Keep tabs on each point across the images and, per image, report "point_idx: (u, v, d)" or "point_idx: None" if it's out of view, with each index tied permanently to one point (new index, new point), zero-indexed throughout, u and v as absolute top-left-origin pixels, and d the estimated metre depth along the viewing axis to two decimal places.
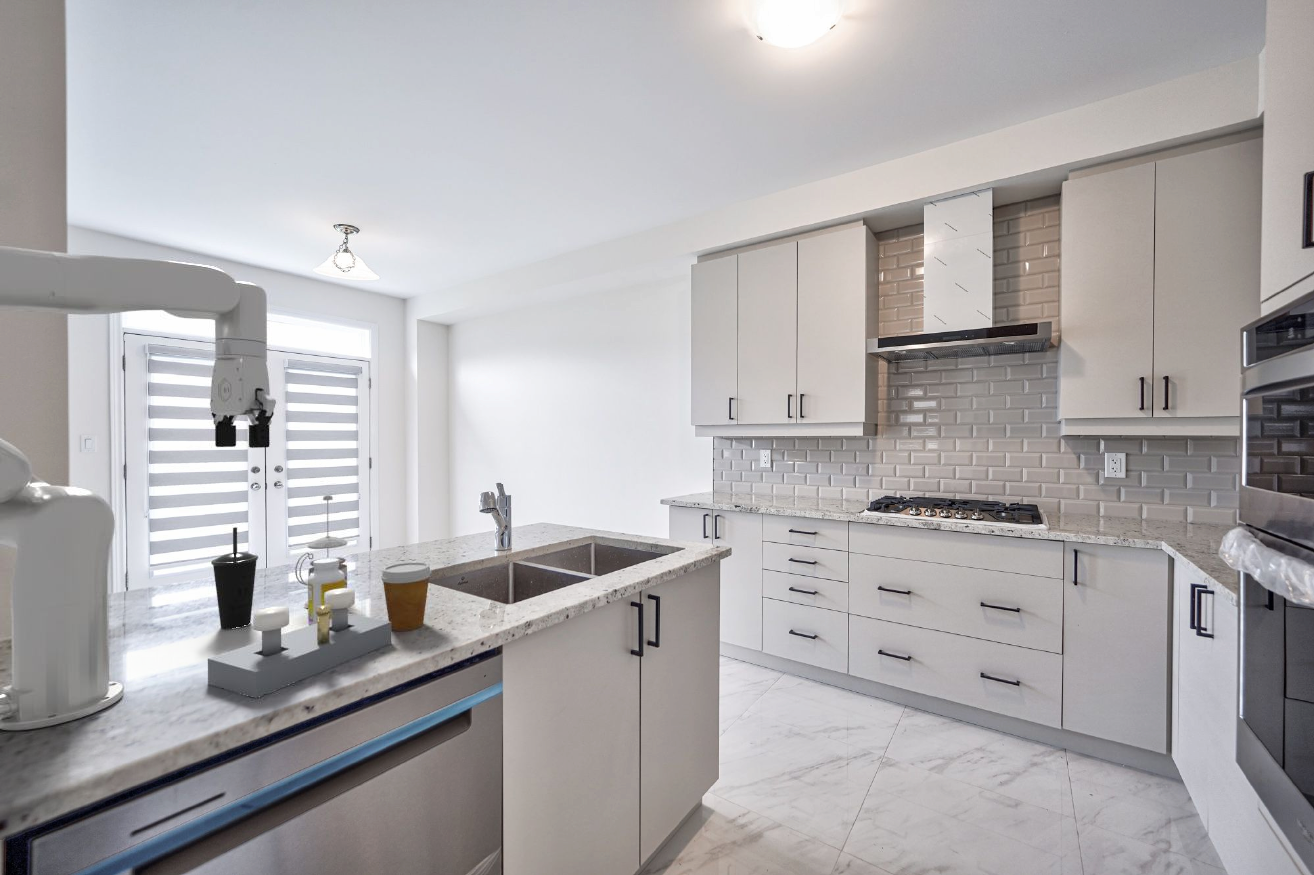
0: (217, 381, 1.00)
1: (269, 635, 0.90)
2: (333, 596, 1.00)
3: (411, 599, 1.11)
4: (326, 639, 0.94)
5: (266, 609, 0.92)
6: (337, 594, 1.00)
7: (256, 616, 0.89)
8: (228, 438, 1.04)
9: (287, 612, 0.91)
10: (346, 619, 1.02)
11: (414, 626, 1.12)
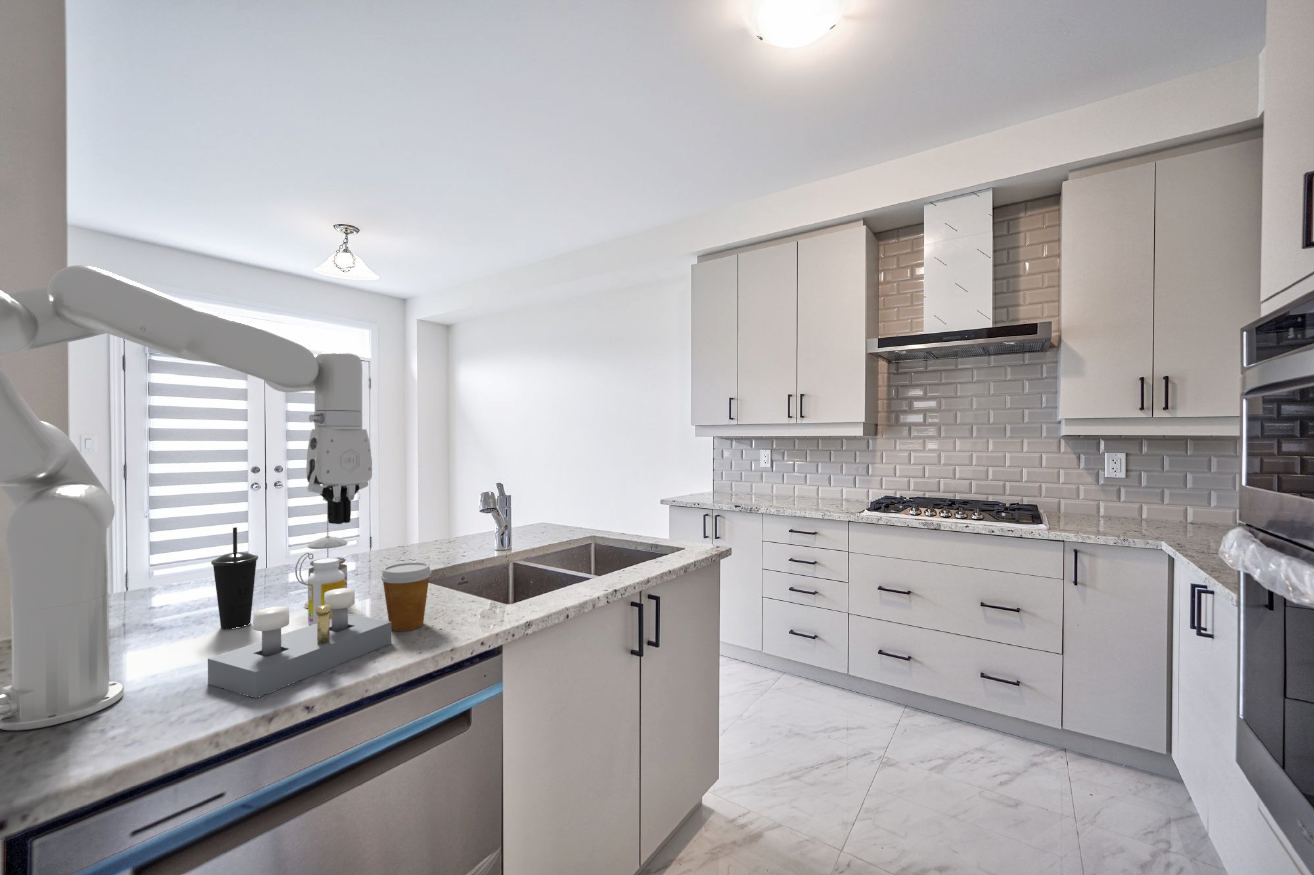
0: (338, 451, 0.98)
1: (269, 635, 0.90)
2: (333, 596, 1.00)
3: (411, 599, 1.11)
4: (326, 639, 0.94)
5: (266, 609, 0.92)
6: (337, 594, 1.00)
7: (256, 616, 0.89)
8: None
9: (287, 612, 0.91)
10: (346, 619, 1.02)
11: (414, 626, 1.12)
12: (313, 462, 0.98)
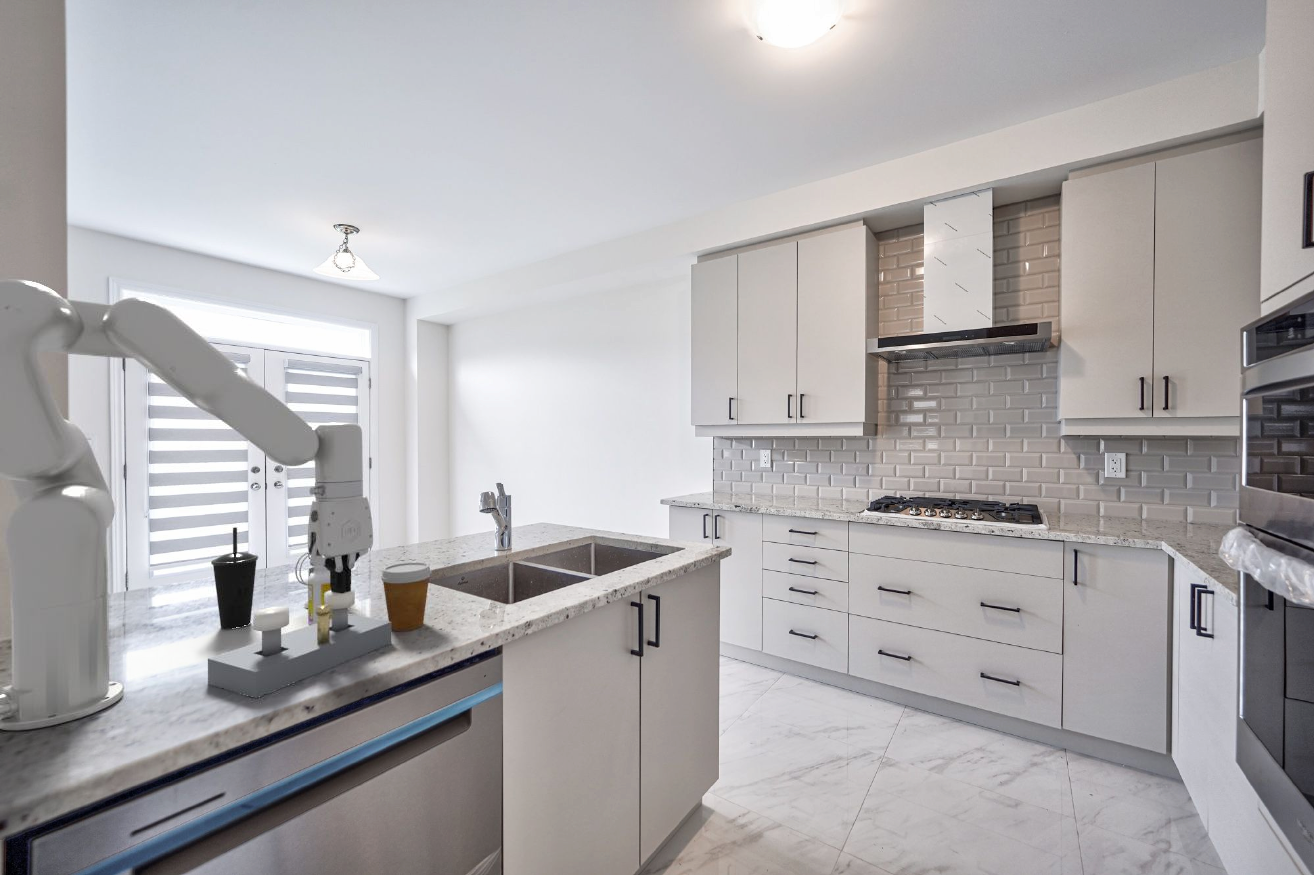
0: (339, 523, 0.99)
1: (269, 635, 0.90)
2: (333, 596, 1.00)
3: (411, 599, 1.11)
4: (326, 639, 0.94)
5: (266, 609, 0.92)
6: (337, 594, 1.00)
7: (256, 616, 0.89)
8: None
9: (287, 612, 0.91)
10: (346, 619, 1.02)
11: (414, 626, 1.12)
12: (314, 534, 0.98)
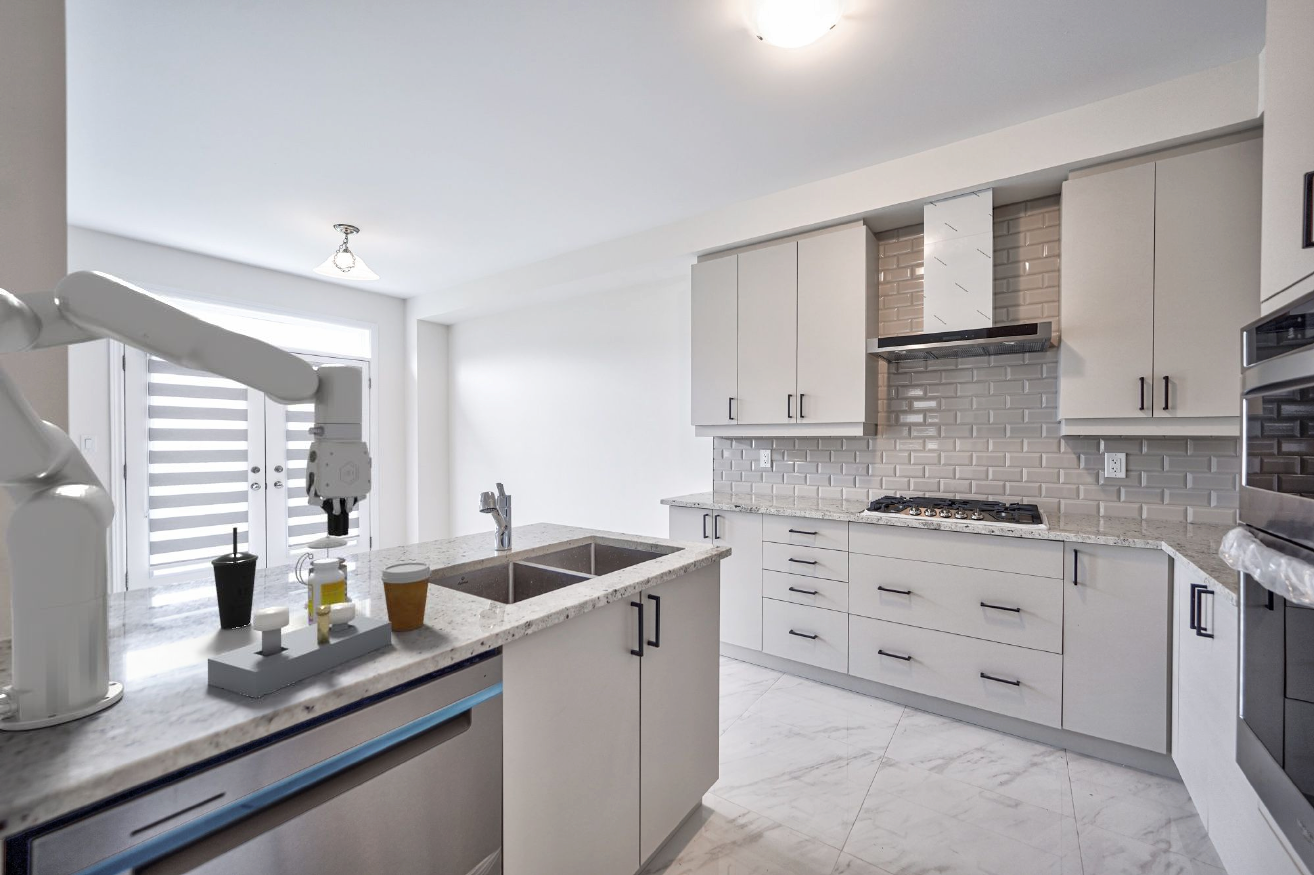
0: (337, 464, 0.98)
1: (269, 635, 0.90)
2: (333, 611, 1.00)
3: (411, 599, 1.11)
4: (326, 638, 0.94)
5: (266, 609, 0.92)
6: (337, 609, 1.00)
7: (256, 616, 0.89)
8: None
9: (287, 612, 0.91)
10: None
11: (414, 626, 1.12)
12: (312, 475, 0.98)
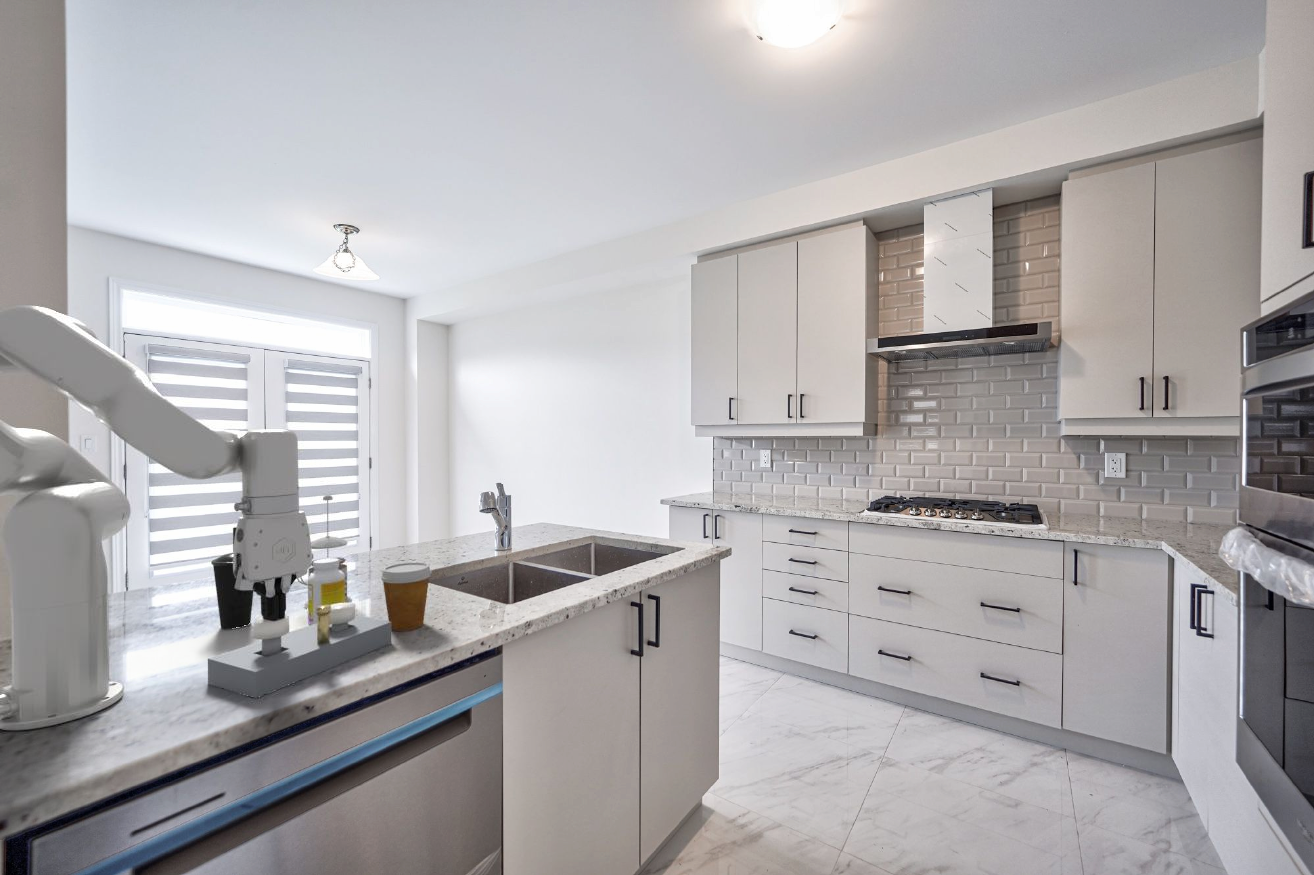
0: (268, 542, 0.88)
1: (269, 643, 0.90)
2: (333, 611, 1.00)
3: (411, 599, 1.11)
4: (326, 639, 0.94)
5: None
6: (337, 609, 1.00)
7: (256, 624, 0.89)
8: None
9: (287, 620, 0.91)
10: None
11: (414, 626, 1.12)
12: (240, 555, 0.87)
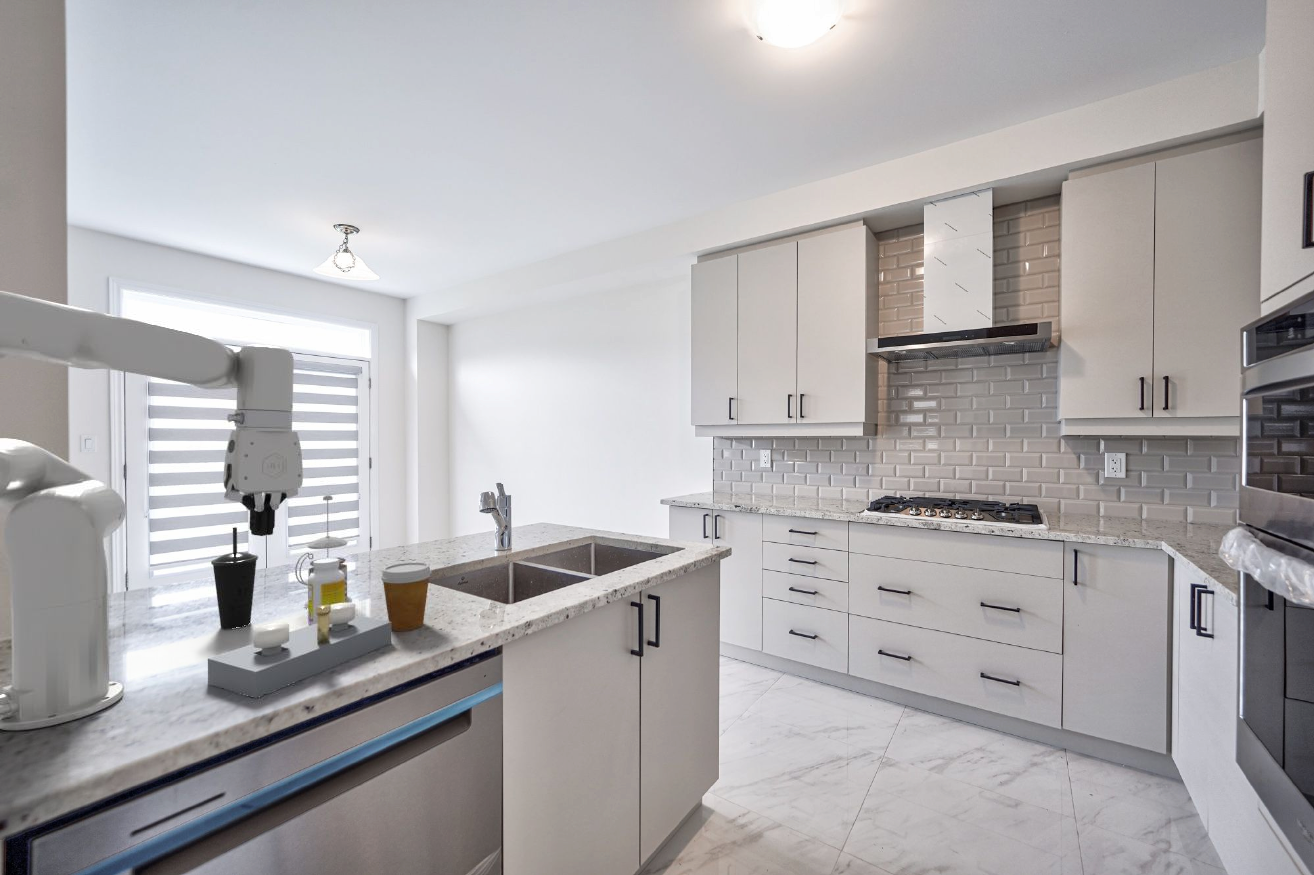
0: (259, 455, 0.88)
1: (269, 652, 0.90)
2: (333, 611, 1.00)
3: (411, 599, 1.11)
4: (326, 639, 0.94)
5: (266, 625, 0.92)
6: (337, 609, 1.00)
7: (256, 633, 0.89)
8: None
9: (287, 629, 0.91)
10: None
11: (414, 626, 1.12)
12: (231, 467, 0.88)
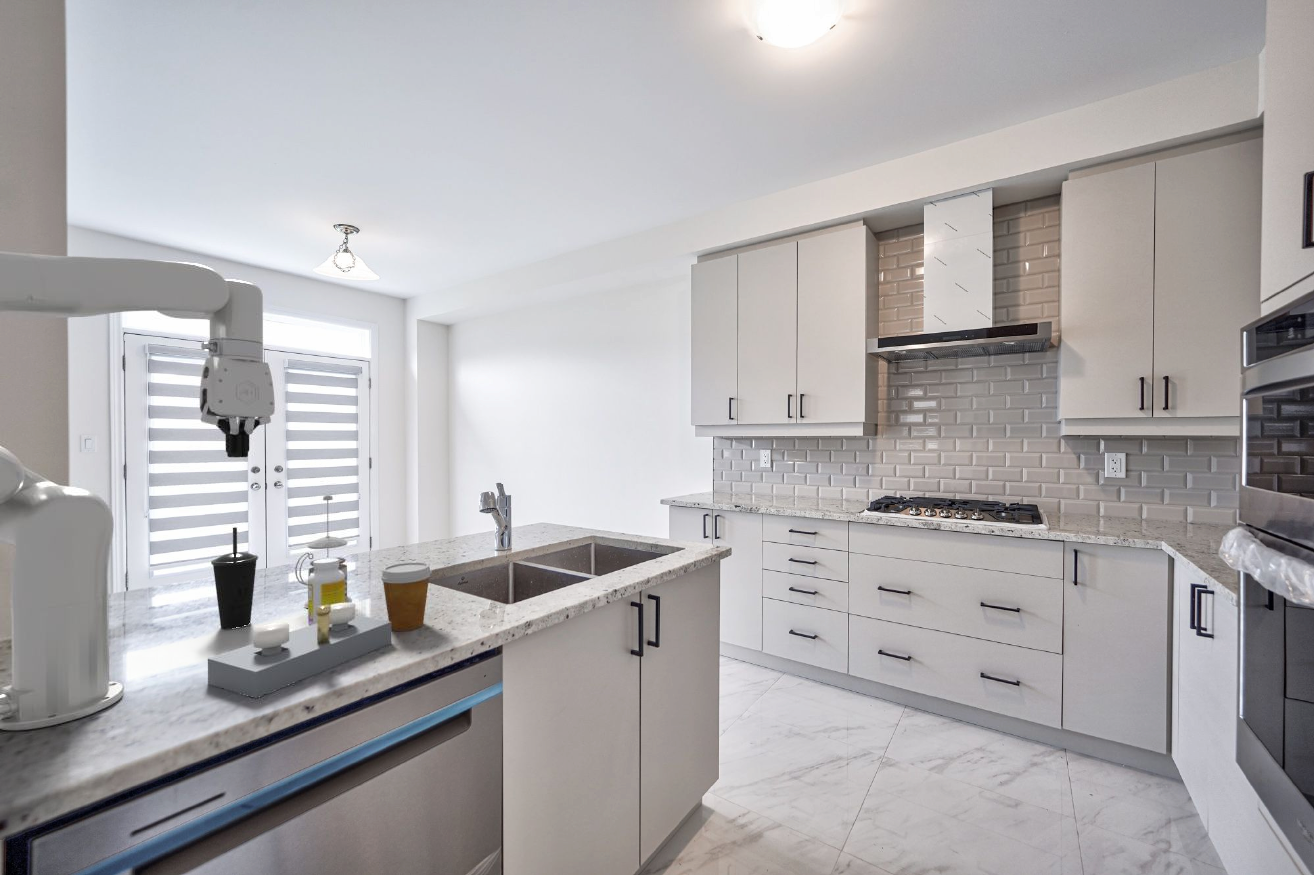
0: (232, 381, 0.96)
1: (269, 652, 0.90)
2: (333, 611, 1.00)
3: (411, 599, 1.11)
4: (326, 639, 0.94)
5: (266, 625, 0.92)
6: (337, 609, 1.00)
7: (256, 633, 0.89)
8: None
9: (287, 629, 0.91)
10: None
11: (414, 626, 1.12)
12: (206, 392, 0.95)
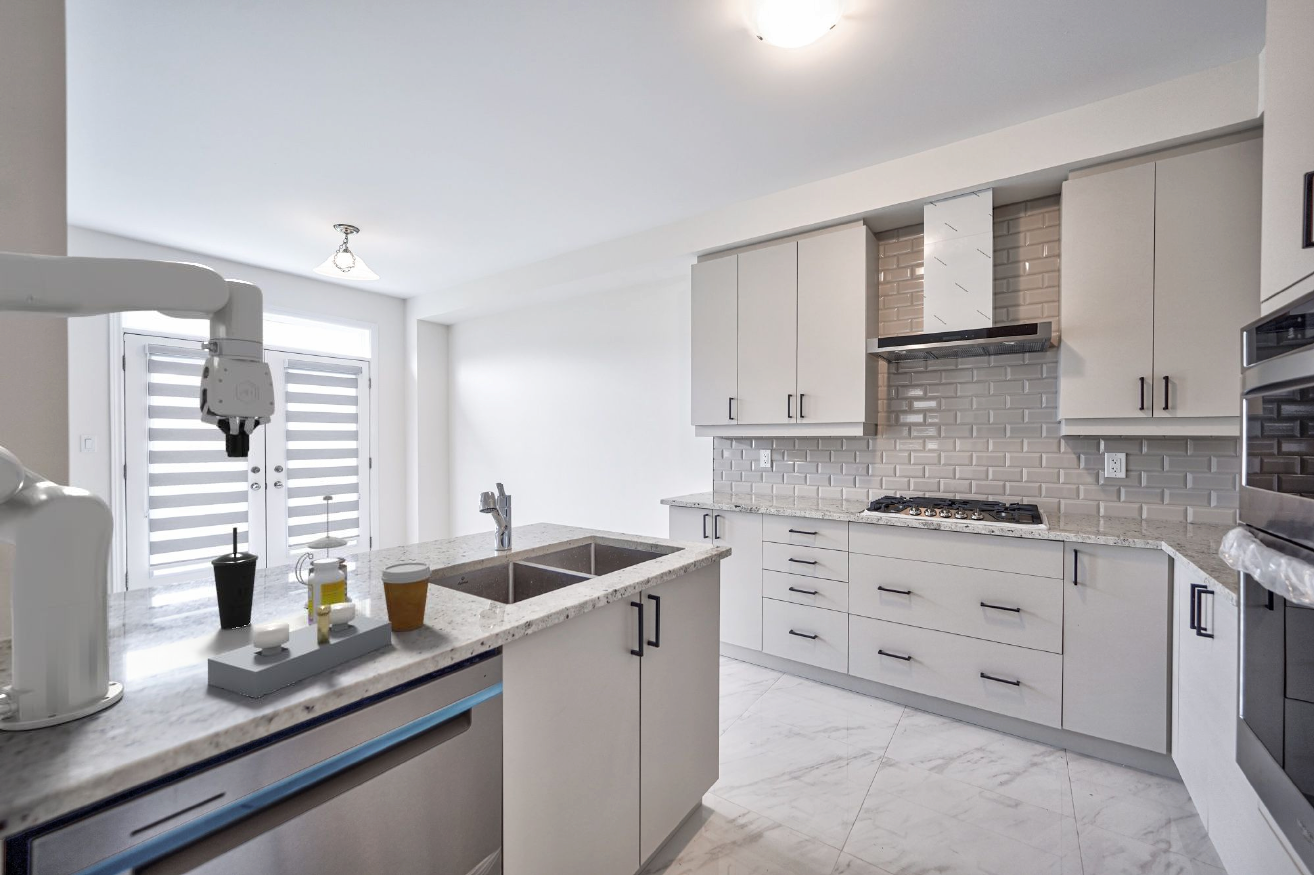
0: (232, 381, 0.96)
1: (269, 652, 0.90)
2: (333, 611, 1.00)
3: (411, 599, 1.11)
4: (326, 639, 0.94)
5: (266, 625, 0.92)
6: (337, 609, 1.00)
7: (256, 633, 0.89)
8: None
9: (287, 629, 0.91)
10: None
11: (414, 626, 1.12)
12: (206, 392, 0.95)
